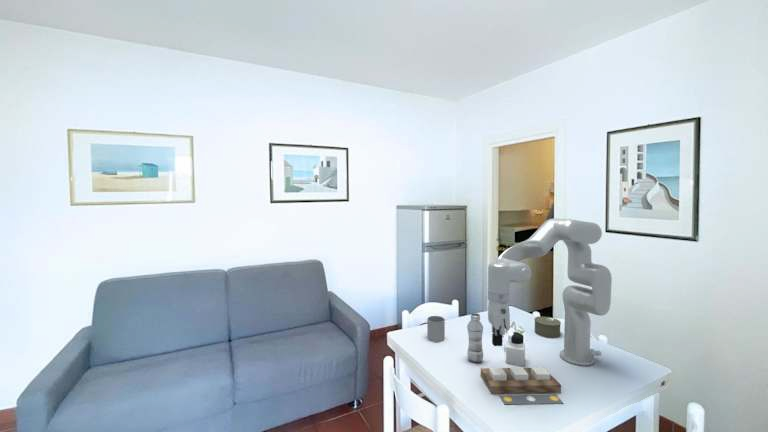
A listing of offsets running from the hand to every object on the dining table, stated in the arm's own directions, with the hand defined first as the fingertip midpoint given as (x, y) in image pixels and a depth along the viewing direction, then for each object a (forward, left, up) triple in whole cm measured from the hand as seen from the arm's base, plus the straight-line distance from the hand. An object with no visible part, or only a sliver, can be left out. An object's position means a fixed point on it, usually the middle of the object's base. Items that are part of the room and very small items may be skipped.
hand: (497, 344), depth 119 cm
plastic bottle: (+3, -18, -15) cm, 24 cm away
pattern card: (-8, +9, -15) cm, 20 cm away
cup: (+16, -40, -16) cm, 46 cm away
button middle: (-8, 0, -13) cm, 16 cm away
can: (-42, -44, -16) cm, 63 cm away
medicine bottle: (-14, -17, -15) cm, 27 cm away
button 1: (0, 0, -13) cm, 13 cm away
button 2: (-16, 0, -13) cm, 21 cm away
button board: (-8, 0, -15) cm, 17 cm away
